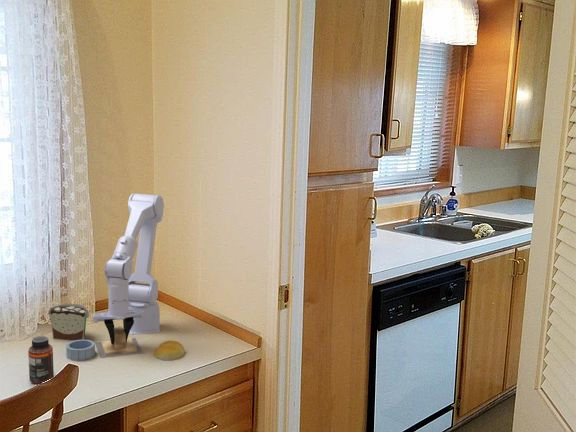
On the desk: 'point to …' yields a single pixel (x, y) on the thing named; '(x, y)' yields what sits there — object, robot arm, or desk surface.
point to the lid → (118, 343)
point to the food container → (68, 321)
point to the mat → (102, 354)
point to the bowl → (80, 350)
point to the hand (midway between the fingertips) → (118, 342)
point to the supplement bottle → (40, 360)
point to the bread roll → (169, 350)
